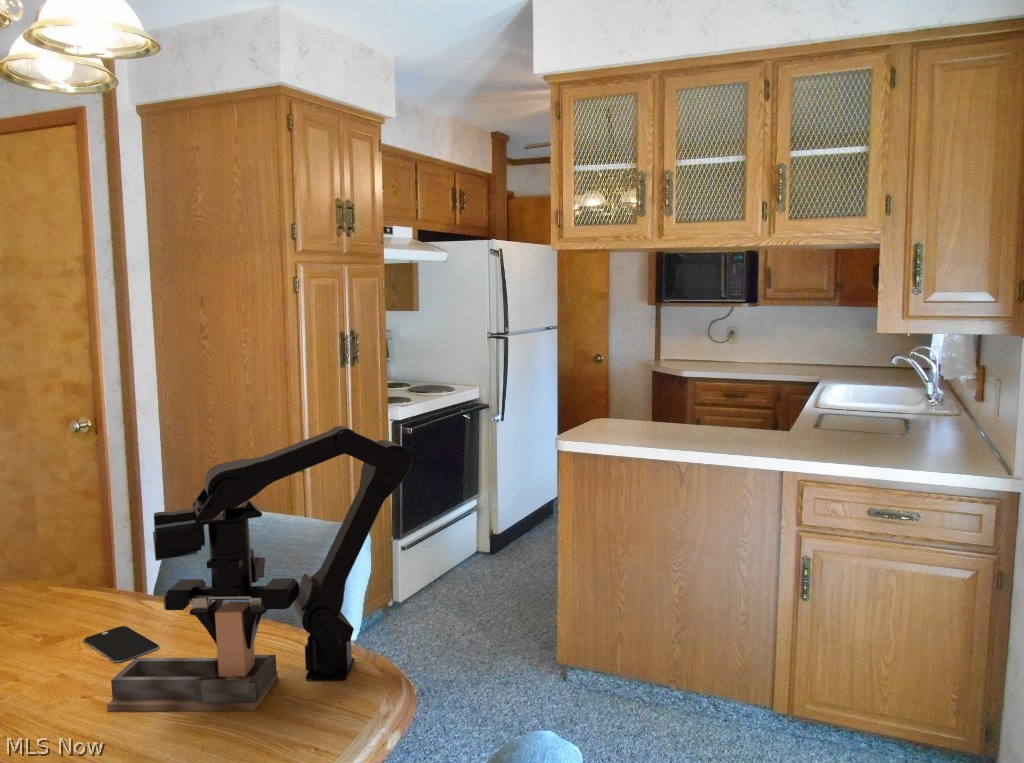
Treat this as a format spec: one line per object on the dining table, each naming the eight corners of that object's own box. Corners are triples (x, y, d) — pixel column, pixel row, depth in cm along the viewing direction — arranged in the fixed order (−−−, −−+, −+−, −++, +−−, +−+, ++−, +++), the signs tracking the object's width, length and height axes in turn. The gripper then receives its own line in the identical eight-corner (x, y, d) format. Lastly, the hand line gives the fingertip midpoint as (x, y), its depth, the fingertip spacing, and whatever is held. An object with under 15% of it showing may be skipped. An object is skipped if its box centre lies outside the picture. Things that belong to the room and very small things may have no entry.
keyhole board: (277, 677, 121) (276, 653, 121) (255, 710, 111) (253, 684, 111) (142, 677, 122) (140, 653, 121) (107, 711, 112) (105, 685, 111)
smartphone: (124, 624, 142) (162, 646, 132) (125, 628, 142) (162, 650, 132) (80, 638, 136) (116, 662, 126) (80, 642, 136) (116, 666, 126)
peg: (254, 663, 118) (251, 601, 117) (245, 676, 114) (241, 612, 113) (229, 663, 118) (225, 601, 117) (218, 676, 114) (214, 612, 113)
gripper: (307, 531, 122) (312, 624, 123) (192, 532, 122) (198, 625, 124) (284, 554, 111) (290, 657, 112) (158, 556, 111) (165, 657, 113)
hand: (236, 647), depth 116 cm, fingers closed on peg, 4 cm apart
